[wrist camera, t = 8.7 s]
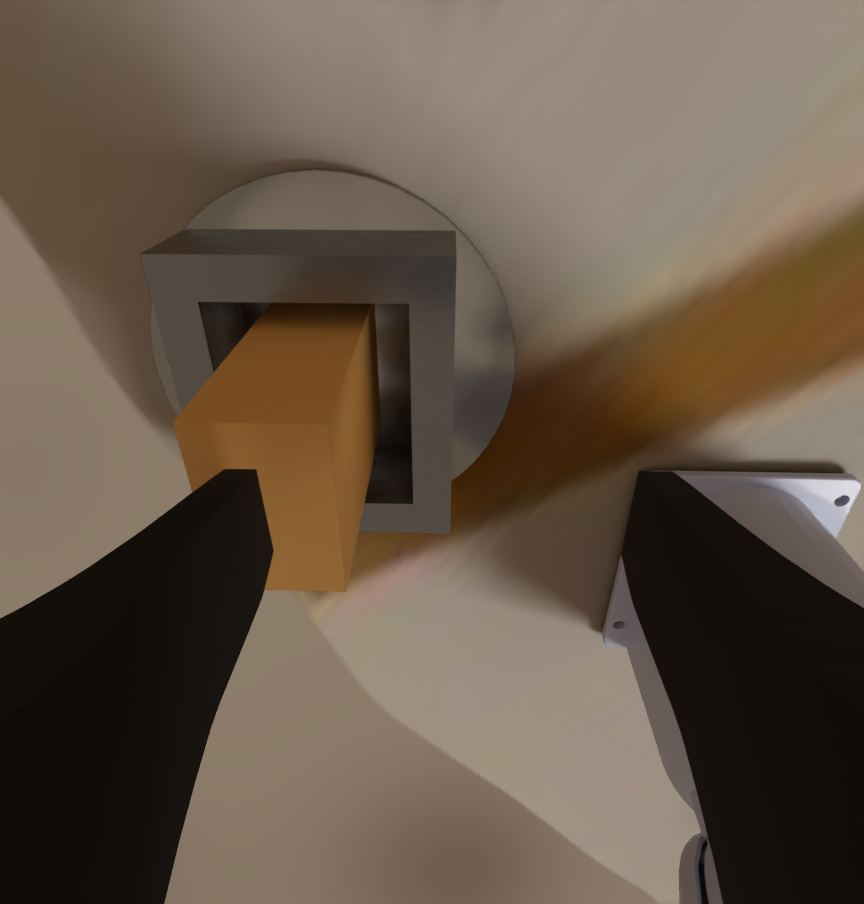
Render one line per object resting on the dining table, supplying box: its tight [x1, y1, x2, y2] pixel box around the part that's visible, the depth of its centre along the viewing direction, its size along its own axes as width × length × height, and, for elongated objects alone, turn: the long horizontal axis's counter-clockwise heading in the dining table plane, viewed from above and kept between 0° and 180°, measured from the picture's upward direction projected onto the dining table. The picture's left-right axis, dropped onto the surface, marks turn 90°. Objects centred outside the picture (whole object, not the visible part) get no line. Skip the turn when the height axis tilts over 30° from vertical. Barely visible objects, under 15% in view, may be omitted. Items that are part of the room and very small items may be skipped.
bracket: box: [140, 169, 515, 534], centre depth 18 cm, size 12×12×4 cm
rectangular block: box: [173, 303, 381, 591], centre depth 16 cm, size 3×4×8 cm, turn 0°
